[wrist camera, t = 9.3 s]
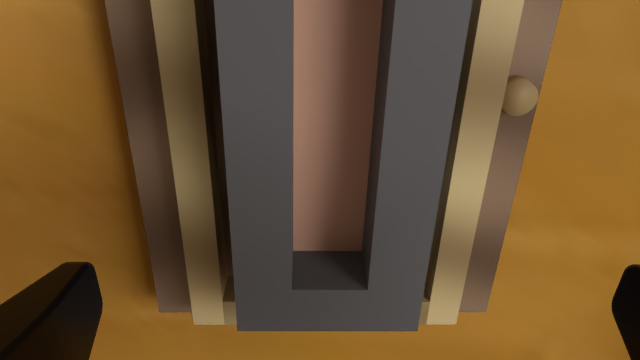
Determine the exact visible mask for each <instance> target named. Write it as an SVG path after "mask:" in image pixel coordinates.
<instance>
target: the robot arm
mask: <svg viewBox="0 0 640 360" xmlns="http://www.w3.org/2000/svg"><path fill="white" fill-rule="evenodd" d="M102 306H103V303H102V296H101V292H100V288H99V284H98V280H97V276H96V272H95V269H94V267H93V265H92V264H91V263H89V262H66V263H63V264H62V265H60V266H58V267H57V268H55V269H54V270H52V271H51V272H49V273H48V274H46V275H45V276H43V277H42V278H40V279H39V280H37V281H36V282H34V283H33V284H31V285H30V286H28V287H27V288H25V289H24V290H22V291H21V292H19V293H18V294H16V295H15V296H13V297H12V298H10V299H9V300H7V301H6V302H4V303H2V304H1V305H0V360H89V357H90V354H91V350H92V346H93V343H94V339H95V336H96V332H97V328H98V325H99V321H100V318H101V314H102ZM612 313H613V316H614V319H615V321H616V324H617V326H618V329H619V331H620V334H621V336H622V339H623V341H624V344H625V346H626V349H627V351H628V354H629V356H630V359H631V360H640V265H638V264H634V265H630V266H628V267H627V268H626V269H625V270H624V272H623V275H622V277H621V280H620V282H619V285H618V287H617V289H616V292H615V294H614V297H613V300H612Z"/></svg>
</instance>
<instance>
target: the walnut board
mask: <svg viewBox="0 0 640 360" xmlns="http://www.w3.org/2000/svg"><path fill="white" fill-rule="evenodd" d="M104 1H105V6H106V12H107V18H108V23H109V29H110V35H111V40H112V46H113V52H114V57H115V63H116V69H117V74H118V80H119V86H120V91H121V97H122V103H123V108H124V114H125V120H126V125H127V131H128V137H129V142H130V148H131V154H132V159H133V165H134V171H135V176H136V182H137V188H138V193H139V199H140V205H141V210H142V216H143V222H144V227H145V233H146V239H147V244H148V250H149V256H150V261H151V267H152V273H153V278H154V284H155V290H156V295H157V301H158V307H159V312H192V315H193V322H194V325H237V319H236V305H235V291H234V277H233V263H232V249H231V235H230V221H229V207H228V193H227V179H226V165H225V151H224V137H223V123H222V109H221V95H220V81H219V67H218V53H217V39H216V25H215V11H214V0H104ZM561 4H562V0H473V2H472V8H471V14H470V20H469V25H468V31H467V37H466V43H465V49H464V55H463V61H462V67H461V73H460V79H459V85H458V91H457V97H456V103H455V109H454V115H453V121H452V127H451V133H450V139H449V145H448V151H447V157H446V163H445V169H444V175H443V181H442V187H441V193H440V199H439V205H438V211H437V217H436V223H435V229H434V234H433V240H432V246H431V252H430V258H429V264H428V270H427V276H426V282H425V288H424V294H423V300H422V306H421V312H420V318H419V324H456V322H457V318H458V313H459V312H486V309H487V305H488V301H489V297H490V293H491V289H492V285H493V281H494V277H495V272H496V268H497V264H498V260H499V256H500V252H501V248H502V244H503V240H504V236H505V232H506V228H507V224H508V220H509V216H510V211H511V207H512V203H513V199H514V195H515V191H516V187H517V183H518V179H519V175H520V171H521V167H522V163H523V159H524V155H525V150H526V146H527V142H528V138H529V134H530V130H531V126H532V122H533V118H534V114H535V110H536V106H537V102H538V98H539V94H540V89H541V85H542V81H543V77H544V73H545V69H546V65H547V61H548V57H549V53H550V49H551V45H552V41H553V37H554V33H555V28H556V24H557V20H558V16H559V12H560V8H561Z"/></svg>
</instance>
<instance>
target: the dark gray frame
mask: <svg viewBox="0 0 640 360" xmlns="http://www.w3.org/2000/svg"><path fill="white" fill-rule="evenodd" d="M472 2H473V0H214V11H215V25H216V39H217V53H218V67H219V81H220V95H221V109H222V123H223V137H224V151H225V165H226V179H227V193H228V207H229V221H230V235H231V249H232V263H233V277H234V291H235V305H236V319H237V331H417V330H418V324H419V318H420V312H421V306H422V300H423V294H424V288H425V282H426V276H427V270H428V264H429V258H430V252H431V246H432V240H433V234H434V229H435V223H436V217H437V211H438V205H439V199H440V193H441V187H442V181H443V175H444V169H445V163H446V157H447V151H448V145H449V139H450V133H451V127H452V121H453V115H454V109H455V103H456V97H457V91H458V85H459V79H460V73H461V67H462V61H463V55H464V49H465V43H466V37H467V31H468V25H469V20H470V14H471V8H472Z"/></svg>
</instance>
